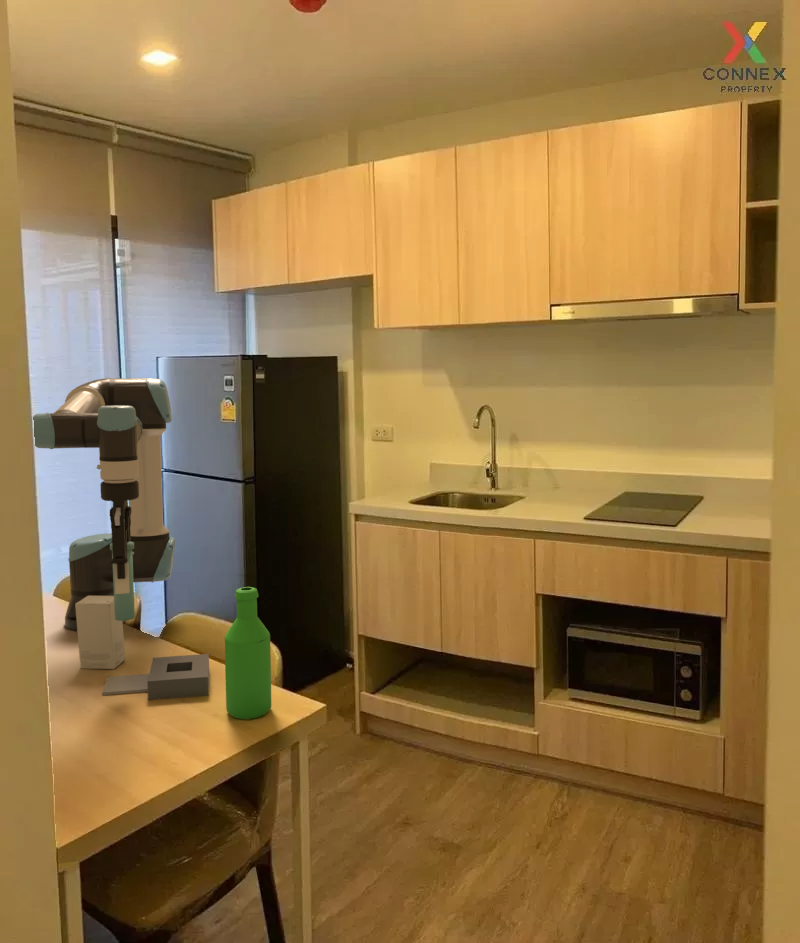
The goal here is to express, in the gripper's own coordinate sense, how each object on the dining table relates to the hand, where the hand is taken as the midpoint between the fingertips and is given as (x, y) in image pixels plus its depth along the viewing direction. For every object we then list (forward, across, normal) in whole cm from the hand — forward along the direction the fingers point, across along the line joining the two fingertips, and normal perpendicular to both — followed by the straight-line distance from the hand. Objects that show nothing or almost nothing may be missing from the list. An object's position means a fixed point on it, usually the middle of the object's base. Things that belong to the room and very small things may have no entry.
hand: (123, 589), depth 172 cm
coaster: (+21, 0, 0) cm, 21 cm away
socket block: (+21, +2, +11) cm, 24 cm away
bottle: (+21, +19, +25) cm, 38 cm away
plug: (+6, 0, 0) cm, 6 cm away
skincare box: (+21, -14, -7) cm, 26 cm away
